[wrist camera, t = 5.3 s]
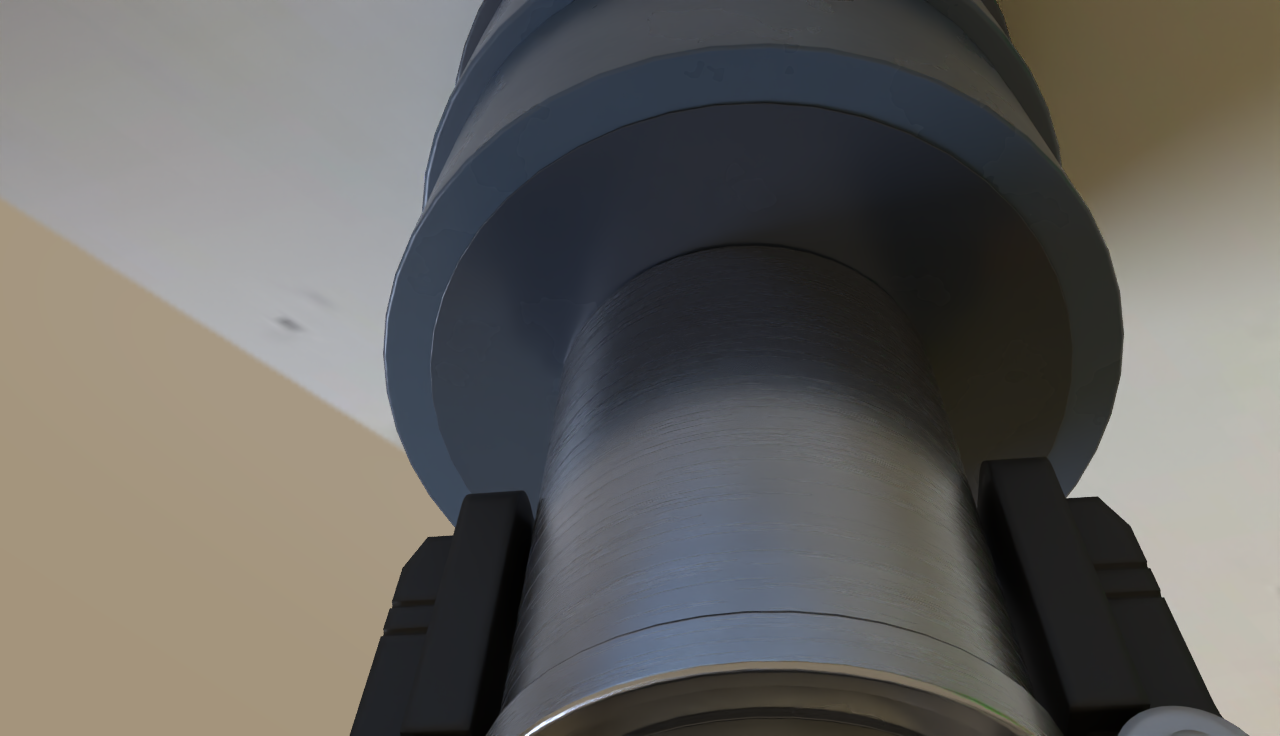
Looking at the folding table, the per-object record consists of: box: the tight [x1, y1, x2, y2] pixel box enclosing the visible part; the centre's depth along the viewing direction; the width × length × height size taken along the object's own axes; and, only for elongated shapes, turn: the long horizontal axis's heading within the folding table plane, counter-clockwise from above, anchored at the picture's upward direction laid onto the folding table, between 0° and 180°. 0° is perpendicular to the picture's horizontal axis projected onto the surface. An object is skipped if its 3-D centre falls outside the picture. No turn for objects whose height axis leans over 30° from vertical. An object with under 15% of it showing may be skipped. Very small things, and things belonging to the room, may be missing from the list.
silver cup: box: [485, 245, 1064, 736], centre depth 13 cm, size 6×6×7 cm
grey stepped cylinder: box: [383, 0, 1124, 527], centre depth 19 cm, size 12×12×10 cm
